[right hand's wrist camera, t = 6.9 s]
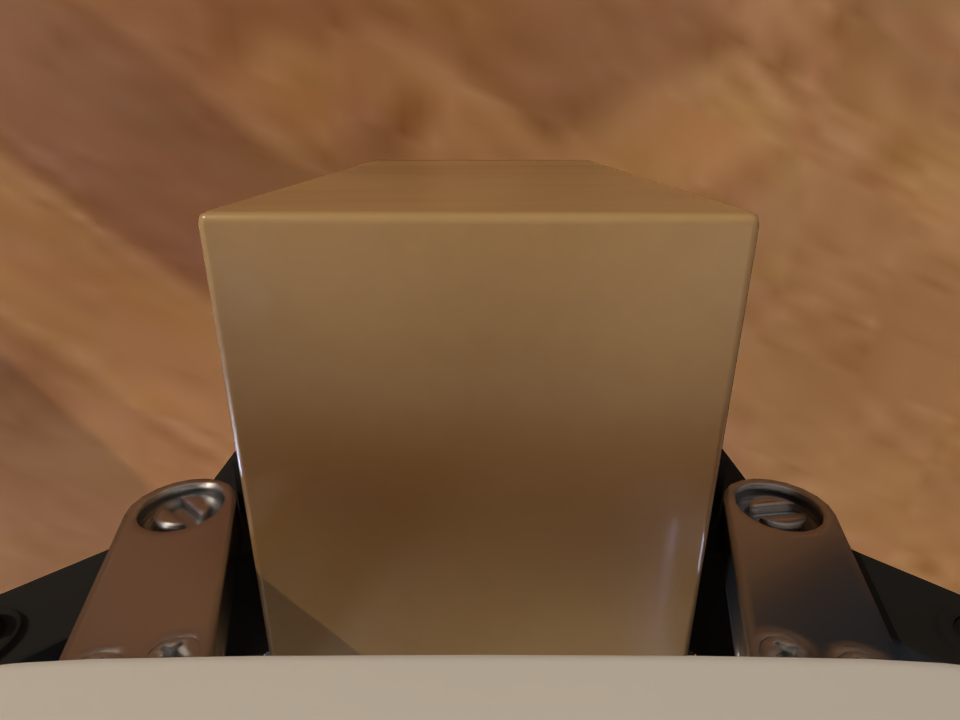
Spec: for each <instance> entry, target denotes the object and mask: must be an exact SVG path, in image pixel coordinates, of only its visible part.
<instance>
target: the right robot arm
mask: <svg viewBox="0 0 960 720" xmlns="http://www.w3.org/2000/svg"><path fill="white" fill-rule="evenodd" d="M263 654H265V655H270V652H269V646H268V640H267V634H266V628H265V622H264V616H263V610H262V604H261V598H260V592H259V586H258V580H257V574H256V568H255V562H254V556H253V550H252V544H251V538H250V532H249V526H248V520H247V514H246V508H245V502H244V496H243V490H242V484H241V478H240V472H239V466H238V460H237V454H236V451H235V452H234V454H233V455H232V456H231V458H230V459H229V460H228V462H227V463H226V464H225V466H224V467H223V468H222V470H221V471H220V472H219V474H218V475H217V476H216V478H215V479H214V480H212V479H193V480H186V481H181V482H176V483H172V484H170V485H167V486H164V487H161V488H158V489H156V490H154V491H152V492H150V493H148V494H147V495H145V496H143V497H141V498H140V499H139V500H138V501H136V502H135V503H134V504H133V505H131V507H130V508H129V509H128V511H127V512H126V514H125V515H124V517H123V519H122V522H121V524H120V526H119V528H118V530H117V533H116V535H115V537H114V539H113V541H112V544H111V546H110V548H109V550H106V551H104V552H101V553H99V554H97V555H94V556H92V557H89V558H87V559H85V560H82V561H80V562H77V563H75V564H73V565H70V566H68V567H65V568H63V569H61V570H58V571H56V572H53V573H51V574H49V575H46V576H44V577H41V578H39V579H36V580H34V581H32V582H29V583H27V584H24V585H22V586H20V587H17V588H15V589H12V590H10V591H8V592H5V593H3V594H0V720H960V595H959V594H957V593H954V592H952V591H950V590H947V589H945V588H942V587H940V586H938V585H935V584H933V583H930V582H928V581H926V580H923V579H921V578H918V577H916V576H914V575H911V574H909V573H906V572H904V571H901V570H899V569H897V568H894V567H892V566H889V565H887V564H885V563H882V562H880V561H877V560H875V559H873V558H870V557H868V556H865V555H863V554H861V553H858V552H856V551H853V550H851V548H850V546H849V544H848V541H847V539H846V537H845V535H844V533H843V530H842V528H841V526H840V524H839V522H838V519H837V517H836V515H835V514H834V512H833V511H832V509H831V508H830V507H829V505H827V504H826V503H825V502H824V501H822V500H821V499H820V498H819V497H817V496H815V495H813V494H812V493H810V492H808V491H806V490H804V489H802V488H799V487H796V486H793V485H790V484H788V483H784V482H779V481H774V480H767V479H748V480H746V479H745V478H744V477H743V476H742V474H741V473H740V472H739V470H738V469H737V468H736V466H735V465H734V464H733V462H732V461H731V460H730V458H729V457H728V456H727V454H726V453H725V452H724V450H723V449H722V451H721V457H720V463H719V469H718V475H717V481H716V487H715V493H714V499H713V505H712V511H711V517H710V523H709V529H708V535H707V541H706V547H705V553H704V559H703V565H702V571H701V577H700V583H699V589H698V595H697V601H696V607H695V613H694V619H693V625H692V631H691V637H690V643H689V649H688V655H695V654H696V656H617V655H343V656H264V655H263Z"/></svg>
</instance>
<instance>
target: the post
mask: <svg viewBox="0 0 960 720" xmlns="http://www.w3.org/2000/svg"><path fill="white" fill-rule="evenodd" d="M198 225H199V231H200V237H201V243H202V249H203V255H204V261H205V267H206V273H207V279H208V285H209V291H210V297H211V303H212V309H213V315H214V321H215V327H216V333H217V339H218V345H219V351H220V357H221V363H222V369H223V375H224V381H225V387H226V394H227V400H228V406H229V412H230V418H231V424H232V430H233V436H234V442H235V448H236V454H237V460H238V466H239V472H240V478H241V484H242V490H243V496H244V502H245V508H246V514H247V520H248V526H249V532H250V538H251V544H252V550H253V556H254V562H255V568H256V574H257V580H258V586H259V592H260V598H261V604H262V610H263V616H264V622H265V628H266V634H267V640H268V646H269V652H270V656H343V655H617V656H687V655H688V649H689V643H690V637H691V631H692V625H693V619H694V613H695V607H696V601H697V595H698V589H699V583H700V577H701V571H702V565H703V559H704V553H705V547H706V541H707V535H708V529H709V523H710V517H711V511H712V505H713V499H714V493H715V487H716V481H717V475H718V469H719V463H720V457H721V451H722V445H723V439H724V433H725V427H726V421H727V415H728V409H729V403H730V397H731V391H732V385H733V379H734V373H735V367H736V361H737V355H738V349H739V343H740V337H741V331H742V325H743V319H744V313H745V307H746V301H747V295H748V289H749V283H750V277H751V271H752V265H753V259H754V253H755V247H756V241H757V235H758V229H759V220H758V216H757V215H756V214H753V213H751V212H749V211H746V210H743V209H739V208H736V207H733V206H730V205H727V204H724V203H721V202H717V201H714V200H711V199H708V198H705V197H702V196H699V195H695V194H692V193H689V192H686V191H683V190H680V189H676V188H673V187H670V186H667V185H664V184H661V183H658V182H654V181H651V180H648V179H645V178H642V177H639V176H636V175H632V174H629V173H626V172H623V171H620V170H617V169H614V168H610V167H607V166H604V165H601V164H598V163H595V162H591V161H588V160H375V161H371V162H368V163H365V164H361V165H358V166H355V167H351V168H348V169H345V170H341V171H338V172H335V173H332V174H328V175H325V176H322V177H318V178H315V179H312V180H308V181H305V182H302V183H298V184H295V185H292V186H288V187H285V188H282V189H278V190H275V191H272V192H268V193H265V194H262V195H259V196H255V197H252V198H249V199H245V200H242V201H239V202H235V203H232V204H229V205H225V206H222V207H219V208H215V209H212V210H209V211H206V212H204V213H202V214H200V216H199V222H198Z"/></svg>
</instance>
